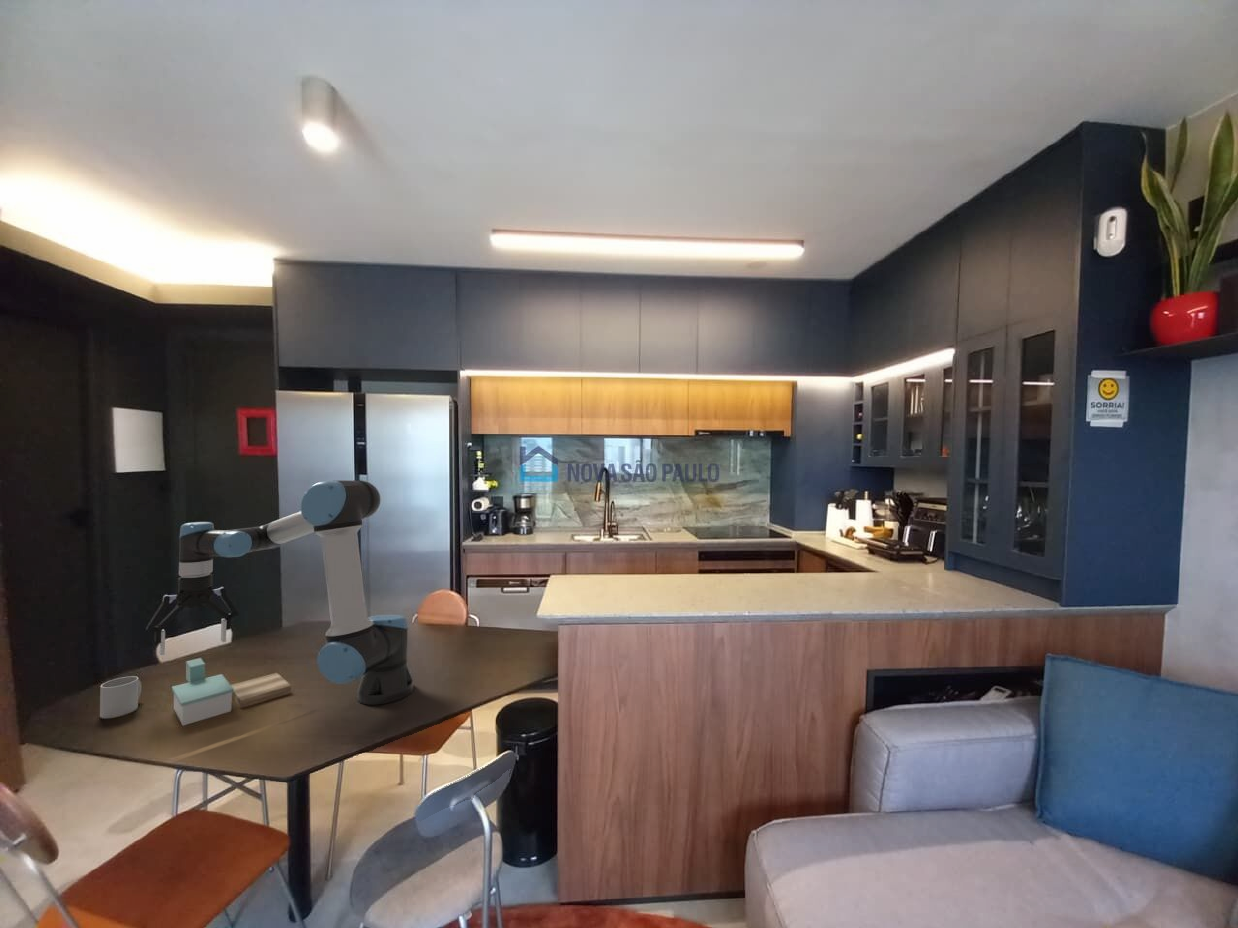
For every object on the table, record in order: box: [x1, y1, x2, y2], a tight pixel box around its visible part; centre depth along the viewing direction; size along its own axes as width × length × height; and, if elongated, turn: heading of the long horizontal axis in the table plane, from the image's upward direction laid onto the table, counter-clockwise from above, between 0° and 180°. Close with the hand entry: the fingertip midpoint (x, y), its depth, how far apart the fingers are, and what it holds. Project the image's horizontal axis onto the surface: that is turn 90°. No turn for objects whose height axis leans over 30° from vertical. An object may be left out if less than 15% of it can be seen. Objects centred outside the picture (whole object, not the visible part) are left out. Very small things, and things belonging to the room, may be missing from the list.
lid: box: [171, 657, 234, 706], centre depth 134 cm, size 21×11×6 cm, turn 50°
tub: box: [173, 692, 233, 726], centre depth 132 cm, size 14×10×6 cm
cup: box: [99, 675, 142, 719], centre depth 132 cm, size 7×10×9 cm
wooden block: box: [230, 672, 292, 709], centre depth 142 cm, size 14×12×3 cm
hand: (193, 647), depth 140 cm, fingers open, 13 cm apart
